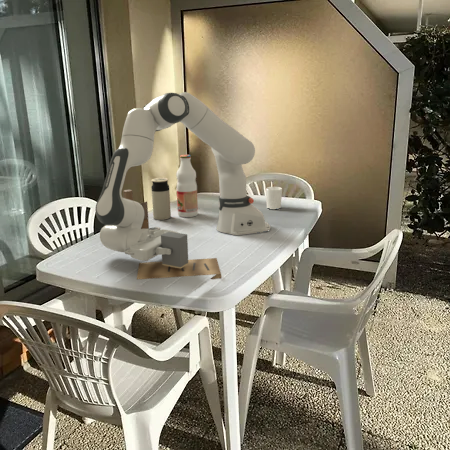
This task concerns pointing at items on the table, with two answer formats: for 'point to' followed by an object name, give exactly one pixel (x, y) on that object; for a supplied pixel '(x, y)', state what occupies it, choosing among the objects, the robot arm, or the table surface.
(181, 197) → the fruit juice
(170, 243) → the block
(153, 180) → the travel mug
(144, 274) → the oak board
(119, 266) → the table surface
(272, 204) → the white cup
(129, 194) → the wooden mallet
